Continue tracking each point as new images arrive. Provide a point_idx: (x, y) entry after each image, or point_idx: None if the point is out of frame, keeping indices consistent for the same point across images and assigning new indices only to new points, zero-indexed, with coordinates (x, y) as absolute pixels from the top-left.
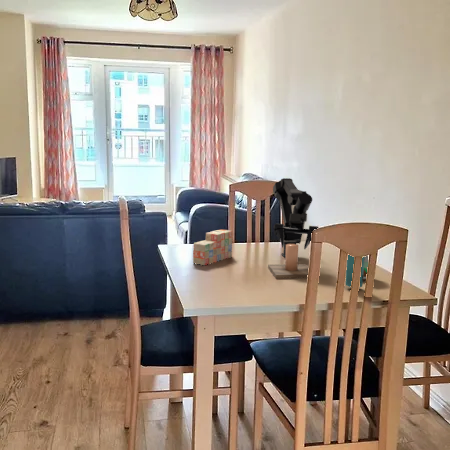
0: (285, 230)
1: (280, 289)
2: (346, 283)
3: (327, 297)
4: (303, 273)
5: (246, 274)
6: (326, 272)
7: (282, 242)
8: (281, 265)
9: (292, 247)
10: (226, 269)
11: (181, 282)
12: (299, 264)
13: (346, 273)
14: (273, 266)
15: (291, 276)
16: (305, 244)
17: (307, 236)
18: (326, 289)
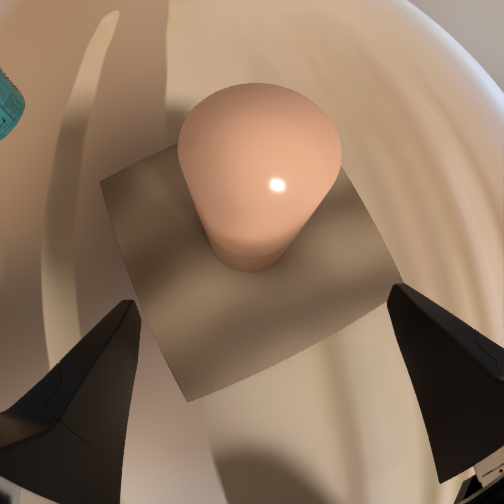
0: (496, 490)
1: (236, 27)
2: (22, 98)
3: (99, 33)
4: (162, 168)
5: (422, 144)
6: (67, 324)
7: (425, 304)
8: (332, 302)
9: (239, 92)
10: (496, 196)
11: (474, 63)
12: (224, 380)
13: (5, 81)
14: (368, 256)
15: None
16: (108, 326)
17: (47, 422)
18: (86, 79)
